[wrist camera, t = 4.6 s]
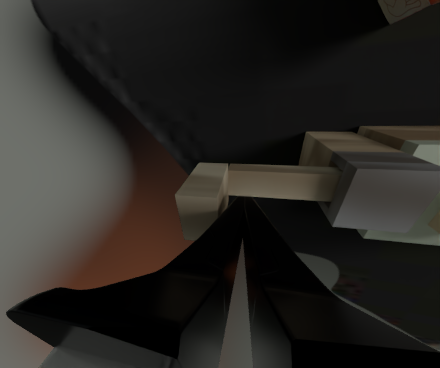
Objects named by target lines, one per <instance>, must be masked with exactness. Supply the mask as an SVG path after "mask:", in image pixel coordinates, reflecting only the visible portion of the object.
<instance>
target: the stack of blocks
mask: <svg viewBox="0 0 440 368" xmlns="http://www.w3.org/2000/svg"><path fill="white" fill-rule="evenodd" d="M439 2H440V0H378V3H379V5H380V7H381V9H382V11H383V13H384V15H385V17H386V19H387V21H388V22H389V24H393V23H395V22H397V21H399V20H401V19H404V18H406V17H408V16H410V15H412V14H414V13H416V12H418V11H420V10H422V9H423V8H425V7H427V6H429V5H434V4H436V3H439Z"/></svg>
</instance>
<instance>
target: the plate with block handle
mask: <svg viewBox="0 0 440 368" xmlns="http://www.w3.org/2000/svg"><path fill="white" fill-rule="evenodd" d="M400 151H402V152H405V153H407V154H410V155H413V156H415V157H418V158H420V159H423V160H425V161H428V162H431V163H433V164H436V165H438V166H440V140H405V142H404V143H403V145H402V147H401V149H400ZM357 231H358V232H359V233H360V235H361V236H362V237H363V238H367V239H377V240H387V241H398V242H408V243H418V244H428V245H438V246H440V192H439V193H438V194H437V195H436V197H435V198H434V199H433V201H432V202H431V203H430V204H429V206H428V207H427V208H426V210H425V211H424V212H423V213H422V215H421V216H420V217H419V219H418V220H417V221H416V222H415V224H414V225H413V226H412V228H411V229H410V230H409V231H408V233H399V232H387V231H376V230H365V229H357Z"/></svg>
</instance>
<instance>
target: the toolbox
mask: <svg viewBox="0 0 440 368" xmlns="http://www.w3.org/2000/svg"><path fill="white" fill-rule="evenodd" d="M405 140H440V126H360V127H359V130H358V132H357V134H356V133H353V132H306V134H305V139H304V143H303V147H302V152H301V156H300V160H299V165H298V166H315V167H339V168H340V169H342V170H343V174H342V176H341V179H340V181H339V184H338V186H337V189H336V191H335V194H334V197H333V199H332V202H327V201H317V202H318V204H319V205H320V207H321V209H322V210H323V212H324V214H325V215H326V217H327V219H328V220H329V222H330V224H331V225H332V227H343V228H354V229H365V230H376V231H387V232H399V233H408V231H409V230H410V229H411V228H412V226H413V225H414V224H415V222H416V221H417V220H418V219H419V217H420V216H421V215H422V213H423V212H424V211H425V210H426V208H427V207H428V206H429V204H430V203H431V202H432V201H433V199H434V198H435V197H436V195H437V194H438V193H439V192H440V166H438V165H436V164H433V163H431V162H428V161H425V160H423V159H420V158H418V157H415V156H413V155H410V154H407V153H405V152H402V151H400V149H401V147H402V145H403V143H404V142H405Z"/></svg>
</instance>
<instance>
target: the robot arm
mask: <svg viewBox="0 0 440 368" xmlns="http://www.w3.org/2000/svg"><path fill="white" fill-rule="evenodd" d="M242 238H243V245H244V257H245V270H246V283H247V296H248V309H249V321H250V332H251V347H252V358H253V368H440V352H439V351H437V350H435V349H433V348H431V347H429V346H427V345H425V344H423V343H421V342H419V341H417V340H416V339H414V338H412V337H410V336H408V335H406V334H404V333H402V332H400V331H398V330H397V329H395V328H393V327H391V326H389V325H387V324H385V323H383V322H381V321H380V320H377V319H376V318H374V317H372V316H370V315H368V314H366V313H364V312H362V311H360V310H359V309H357V308H355V307H353V306H351V305H349V304H347V303H346V302H344V301H342V300H341V299H339V298H338V297H337V296H336V295H334V294H333V293H332V292H331V291H330V290H329V289H328V288H327V287H326V286H324V284H323V283H322V282H321V281H320V280H319V279H318V278H317V277H316V276H315V274H314V273H313V272H312V271H311V270H310V269H309V268H308V267H307V266H306V265H305V264H304V263H303V262H302V261H301V259H300V258H299V257H298V256H297V255H296V254H295V253H294V252H293V250H292V249H291V248H290V247H289V246H288V244H287V243H286V242H285V240H284V239H283V238H282V236H281V235H280V234H279V232H278V231H277V230H276V228H275V227H274V226H273V224H272V223H271V222H270V220H269V219H268V218H267V216H266V215H265V214H264V212H263V211H262V210H261V208H260V207H259V206H258V204H257V203H256V202H255V200H254V199H253V198H252V197H247V196H246V197H244V196H238V197H237V198H236V199H235V200H234V201H233V202H232V203H231V204H230V205H229V206H228V207H227V208H226V209H225V210H224V212H223V213H222V214H221V215H220V216H219V217H218V218H217V219H216V220H215V221H214V222H213V223H212V224H211V226H210V227H209V228H208V229H207V230H206V231H205V232H204V233H203V234H202V235H201V236H200V237H199V238H198V239H197V240H196V241H195V242H194V243H192V244H191V245H190V246H189V247H188V248H187V249H185V250H184V251H183V252H182V253H181V254H180V255H178V256H177V257H176V258H175V259H173V260H172V261H171V262H170V263H169V264H167V265H166V266H165V267H163V268H162V269H160V270H158V271H156V272H153V273H150V274H147V275H143V276H140V277H136V278H132V279H129V280H125V281H121V282H118V283H114V284H110V285H107V286H103V287H99V288H94V289H87V290H75V289H69V288H62V287H59V288H54V289H51V290H48V291H45V292H42V293H39V294H36V295H34V296H32V297H29V298H28V299H26V300H24V301H22V302H20V303H18V304H17V305H15V306H14V307H12V308H11V309H9V310H8V311H7V312H6V315H7V316H8V318H9V319H11V320H12V321H13V322H14V323H16V324H17V325H19V326H21V327H22V328H24V329H25V330H27V331H29V332H30V333H32V334H33V335H35V336H37V337H38V338H40V339H41V340H43V341H45V342H46V343H48V344H50V345H51V346H53V347H54V349H53V350H52V351H51V352H50V354H49V355H48V356H47V358H46V359H45V360H44V362H43V363H42V364H41V365H40V367H39V368H218V365H219V360H220V355H221V349H222V344H223V339H224V334H225V328H226V323H227V318H228V313H229V307H230V302H231V296H232V291H233V286H234V281H235V275H236V270H237V264H238V260H239V254H240V249H241V244H242Z"/></svg>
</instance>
